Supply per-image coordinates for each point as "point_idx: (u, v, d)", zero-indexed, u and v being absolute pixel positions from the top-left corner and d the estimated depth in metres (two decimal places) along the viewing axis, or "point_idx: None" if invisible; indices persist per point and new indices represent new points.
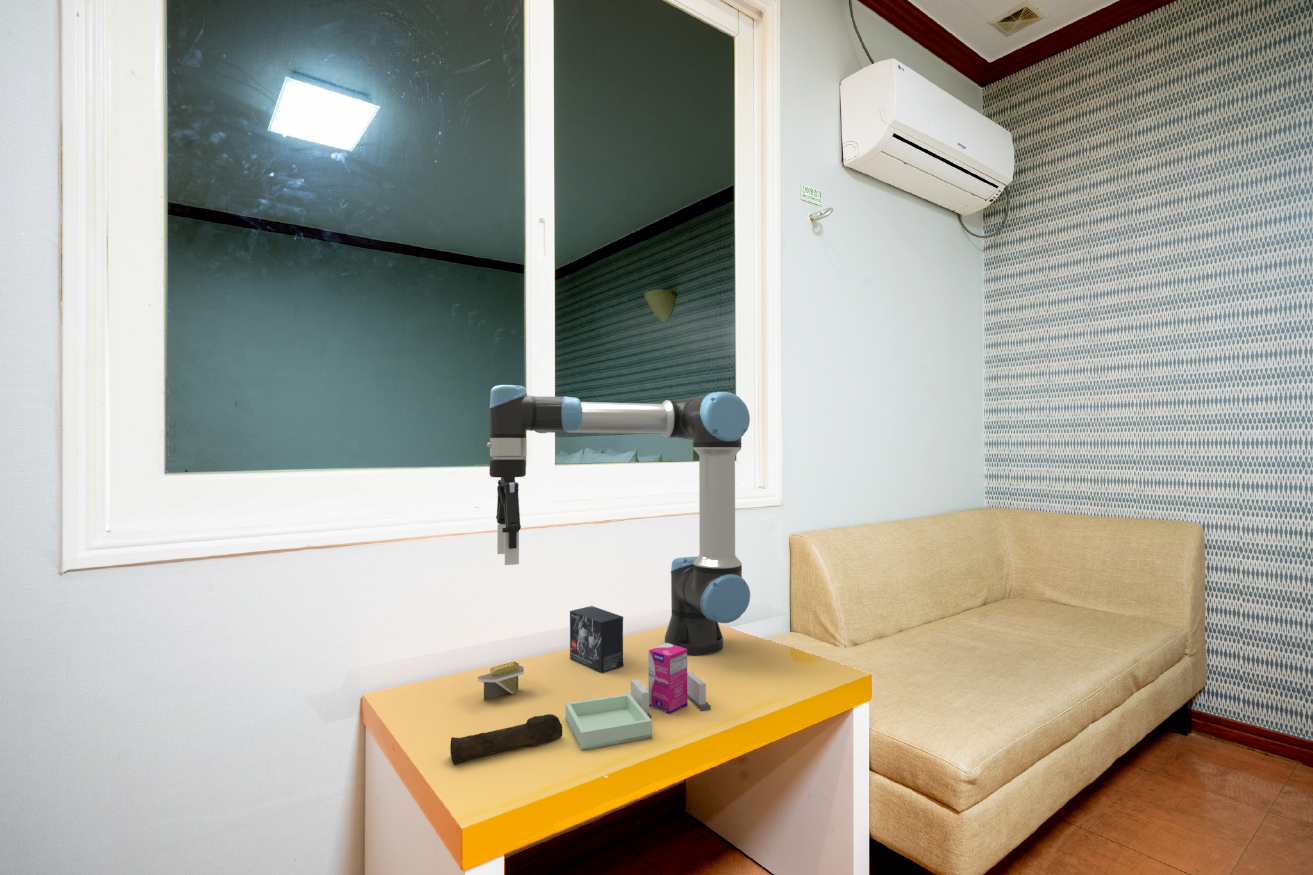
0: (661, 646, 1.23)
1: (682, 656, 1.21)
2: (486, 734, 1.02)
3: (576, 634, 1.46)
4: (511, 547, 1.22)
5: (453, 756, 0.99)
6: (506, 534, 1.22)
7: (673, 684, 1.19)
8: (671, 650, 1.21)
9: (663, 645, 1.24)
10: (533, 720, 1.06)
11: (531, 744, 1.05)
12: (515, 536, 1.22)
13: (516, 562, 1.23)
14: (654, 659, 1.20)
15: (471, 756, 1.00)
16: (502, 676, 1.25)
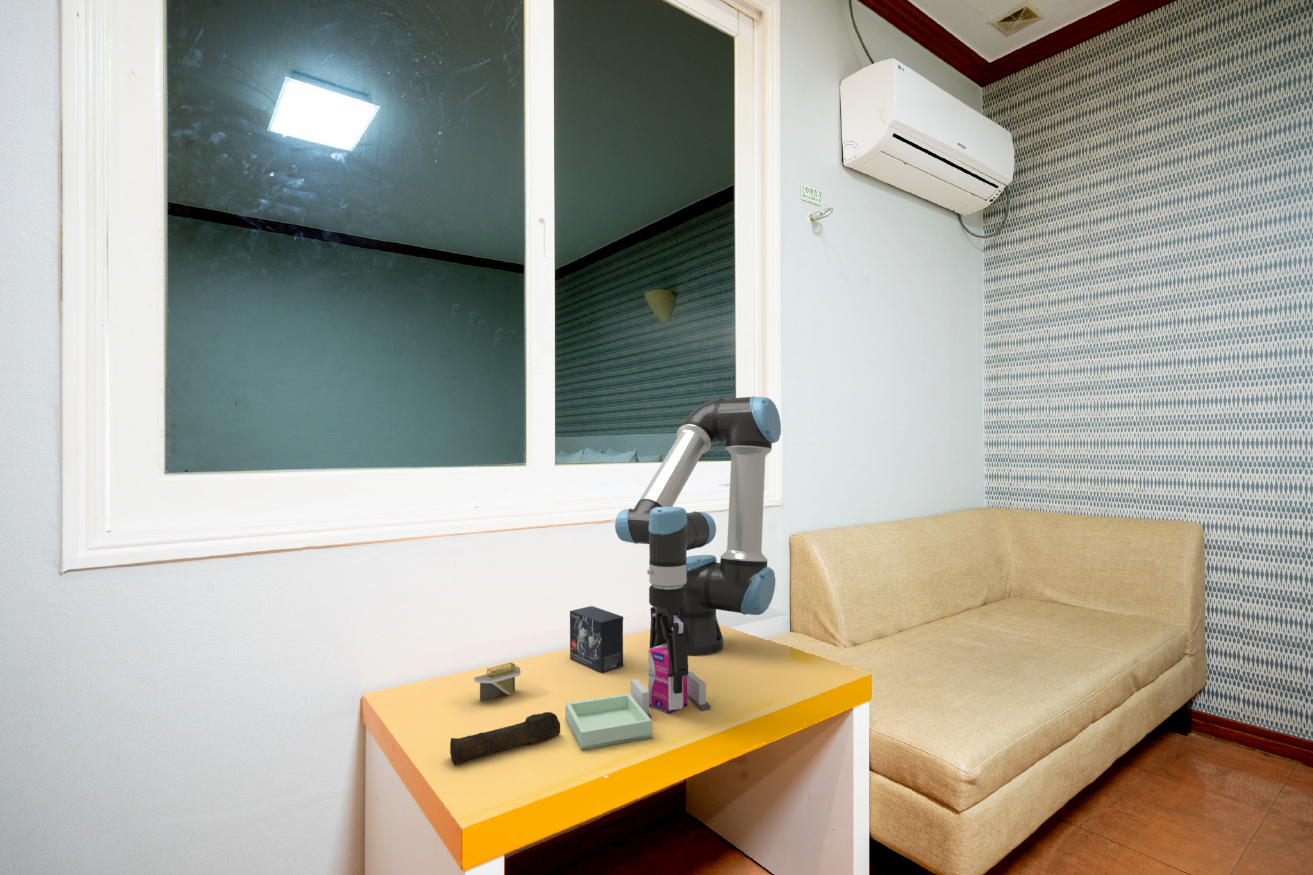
0: (661, 646, 1.23)
1: None
2: (486, 734, 1.03)
3: (576, 634, 1.46)
4: (677, 692, 1.16)
5: (454, 756, 0.98)
6: (671, 677, 1.17)
7: None
8: None
9: (663, 645, 1.24)
10: (532, 718, 1.07)
11: (530, 742, 1.05)
12: (681, 680, 1.17)
13: (681, 706, 1.18)
14: (654, 659, 1.20)
15: (472, 756, 1.00)
16: (498, 677, 1.25)
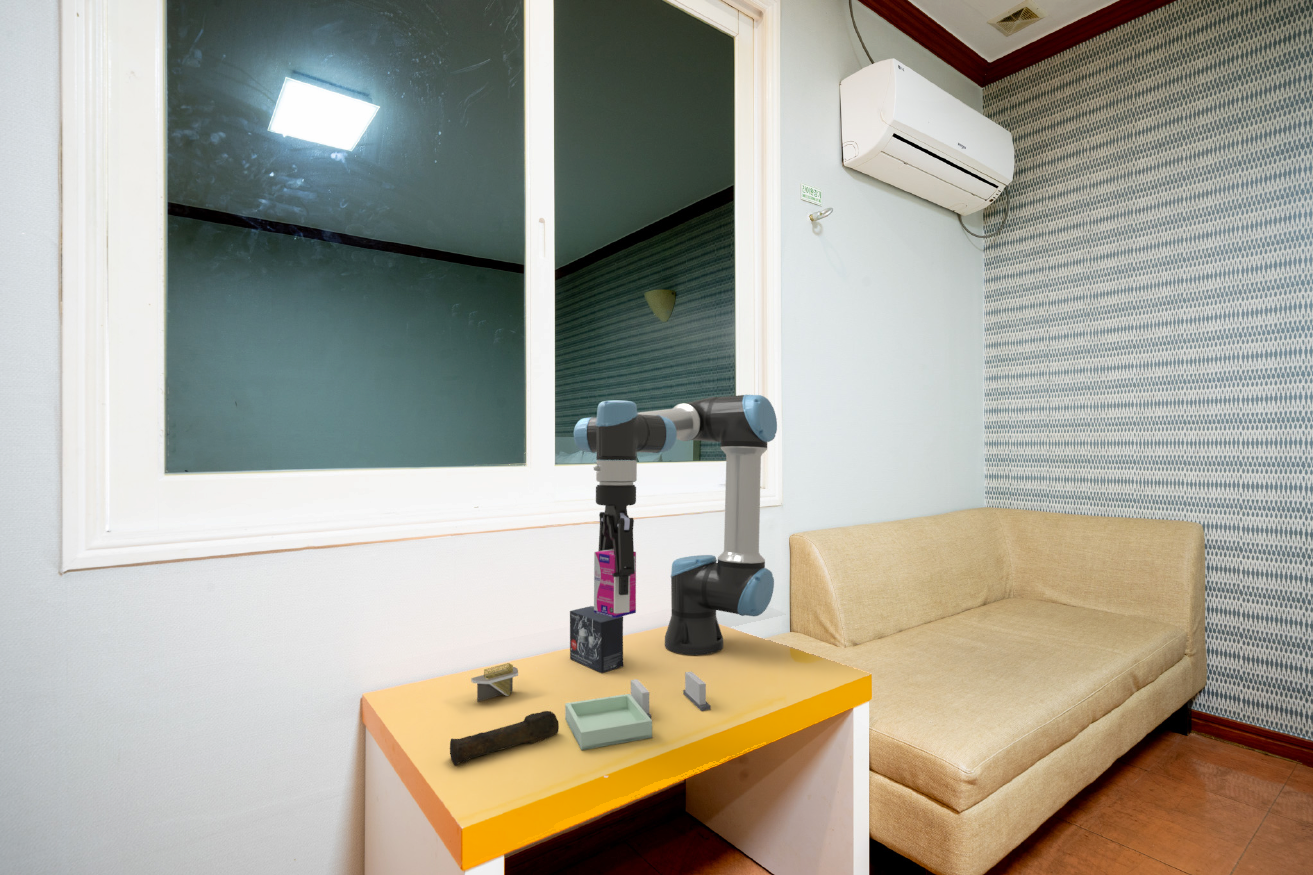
0: (609, 550, 1.15)
1: None
2: (486, 733, 1.03)
3: (576, 634, 1.46)
4: (622, 593, 1.08)
5: (455, 757, 0.98)
6: (616, 578, 1.09)
7: None
8: None
9: (611, 549, 1.16)
10: (531, 717, 1.07)
11: (530, 741, 1.06)
12: (627, 581, 1.08)
13: (627, 610, 1.09)
14: (600, 561, 1.12)
15: (472, 756, 1.00)
16: (496, 678, 1.24)
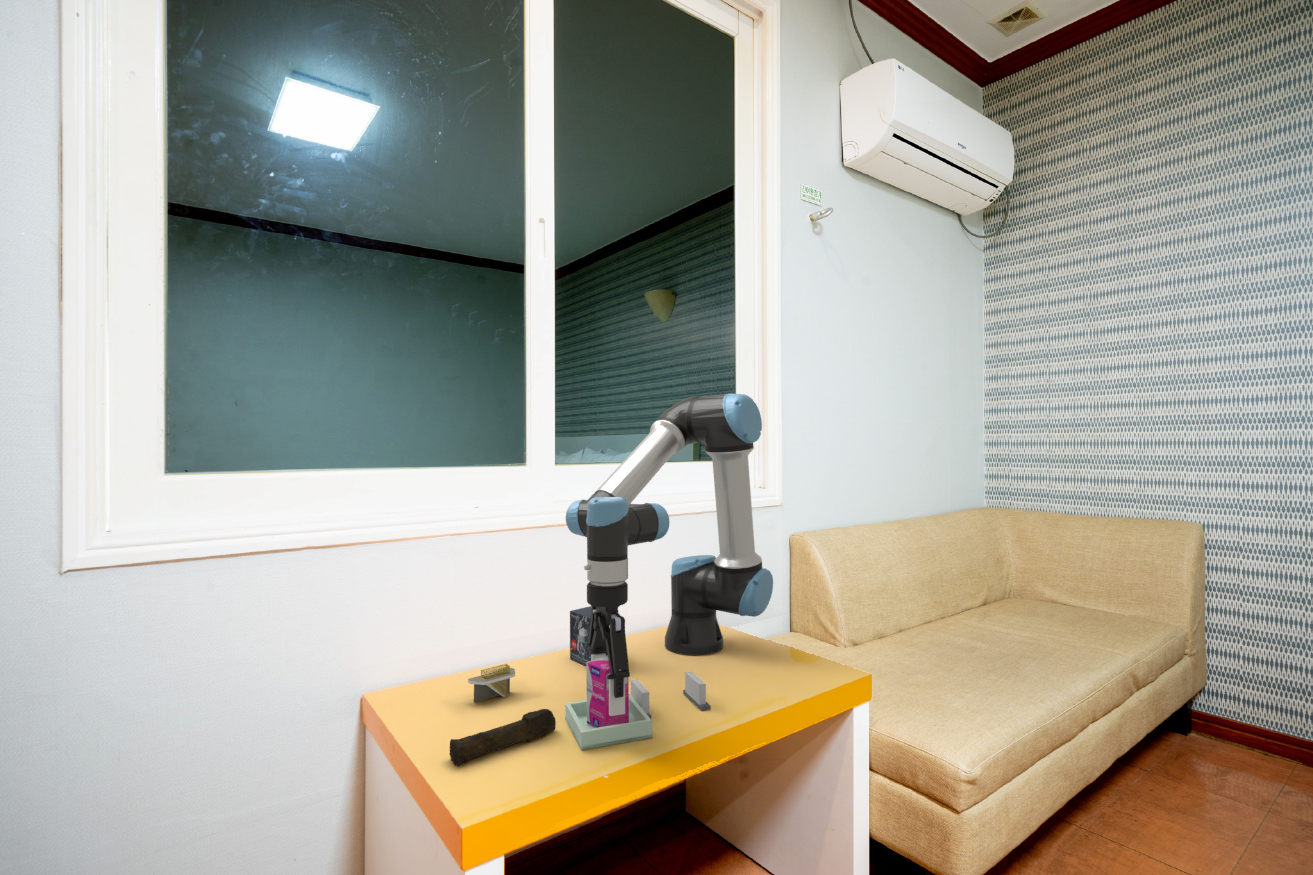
0: (602, 659, 1.14)
1: None
2: (486, 733, 1.03)
3: (576, 634, 1.46)
4: (618, 696, 1.05)
5: (456, 757, 0.98)
6: (611, 680, 1.06)
7: None
8: None
9: (604, 658, 1.14)
10: (529, 716, 1.08)
11: (528, 739, 1.07)
12: (622, 683, 1.05)
13: (622, 712, 1.06)
14: (591, 673, 1.11)
15: (473, 756, 1.00)
16: (492, 678, 1.24)
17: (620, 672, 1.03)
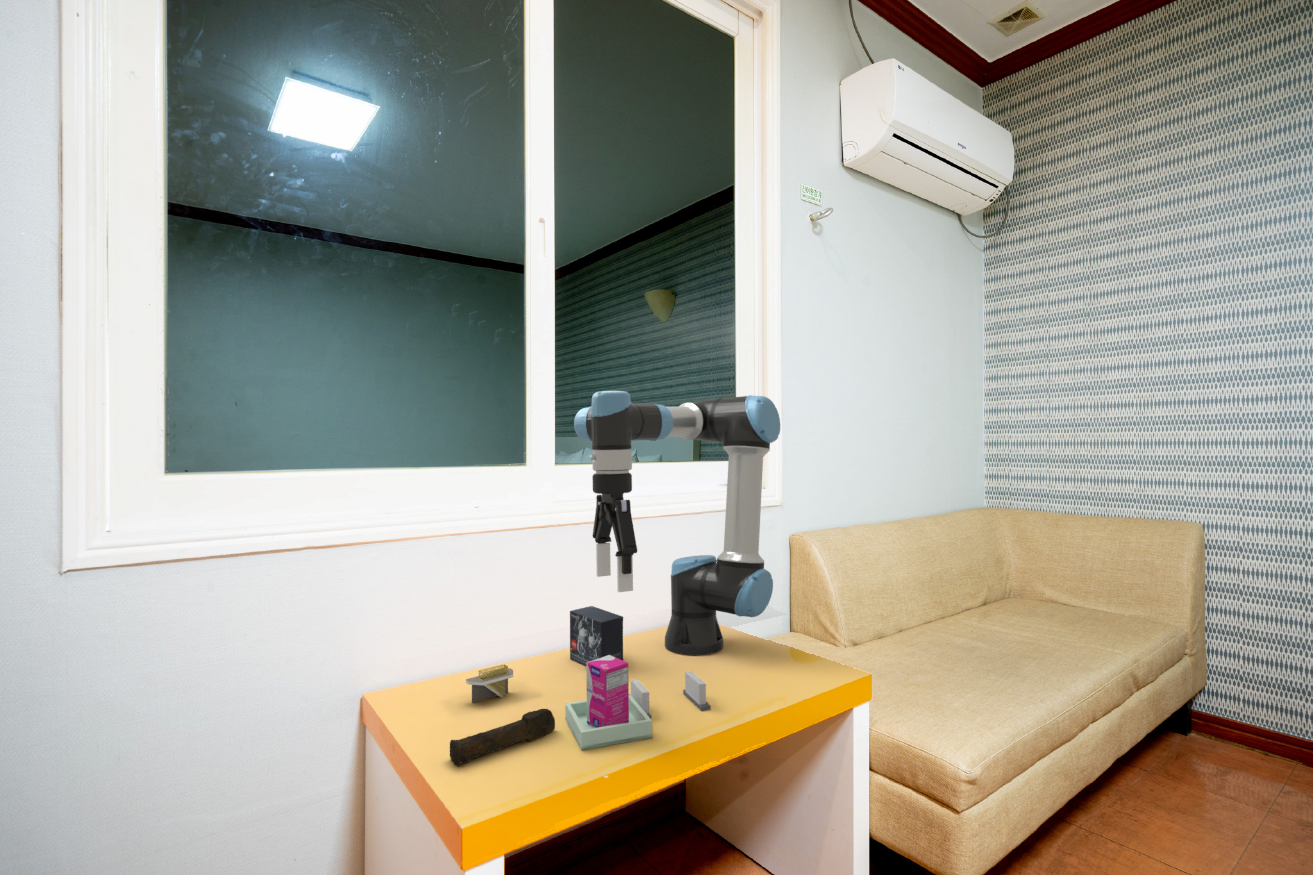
0: (602, 659, 1.14)
1: (622, 670, 1.11)
2: (486, 733, 1.03)
3: (576, 634, 1.46)
4: (626, 572, 1.09)
5: (457, 758, 0.98)
6: (619, 558, 1.10)
7: (611, 701, 1.09)
8: (610, 664, 1.11)
9: (604, 658, 1.14)
10: (529, 715, 1.08)
11: (528, 739, 1.07)
12: (630, 560, 1.09)
13: (630, 589, 1.10)
14: (591, 673, 1.11)
15: (473, 756, 1.00)
16: (490, 679, 1.24)
17: (628, 548, 1.07)
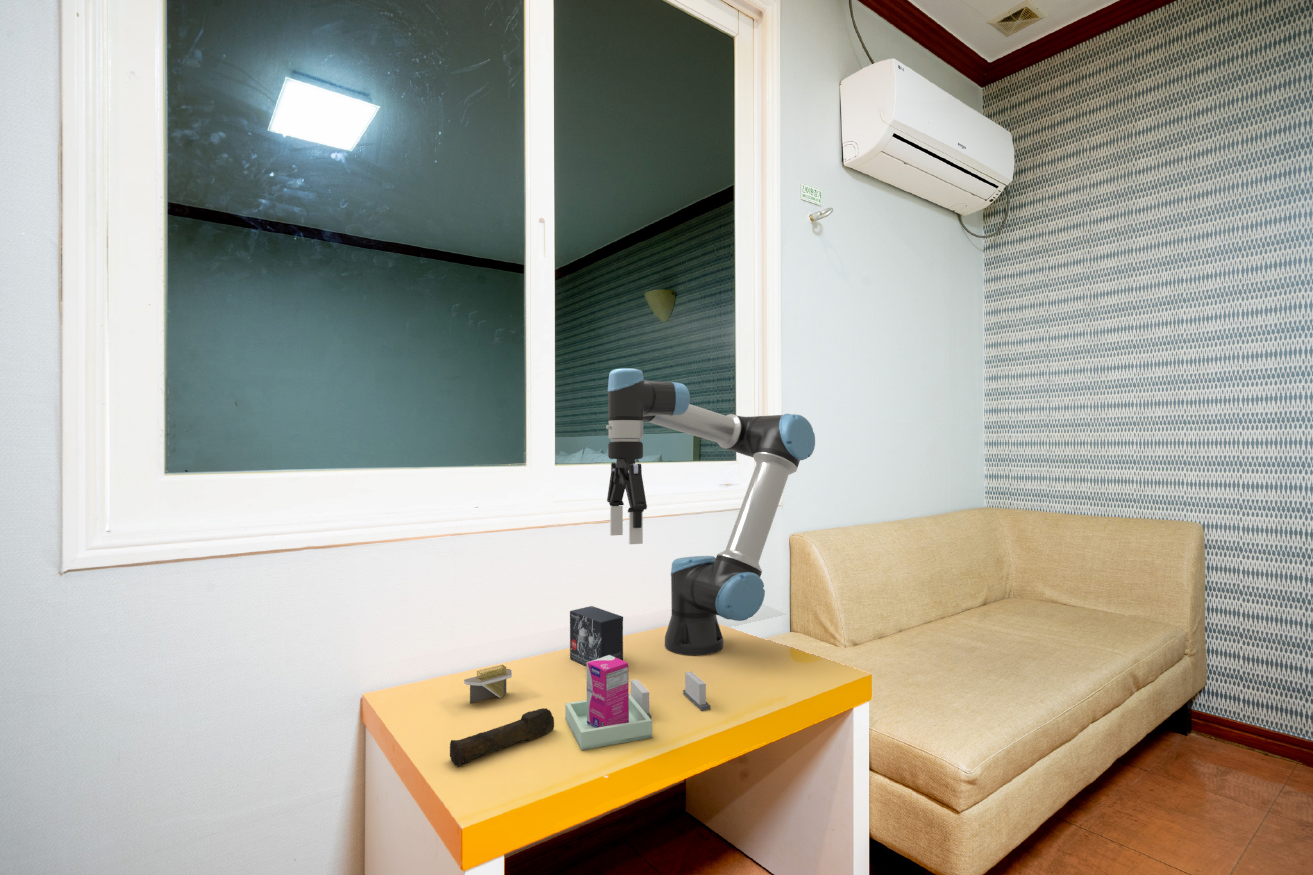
0: (602, 659, 1.14)
1: (622, 670, 1.11)
2: (486, 733, 1.03)
3: (576, 634, 1.46)
4: (636, 527, 1.24)
5: (457, 758, 0.98)
6: (631, 514, 1.25)
7: (611, 701, 1.09)
8: (610, 664, 1.11)
9: (604, 658, 1.14)
10: (528, 715, 1.08)
11: (528, 739, 1.07)
12: (640, 516, 1.24)
13: (640, 542, 1.25)
14: (591, 673, 1.11)
15: (474, 756, 1.00)
16: (488, 679, 1.23)
17: (639, 504, 1.22)
